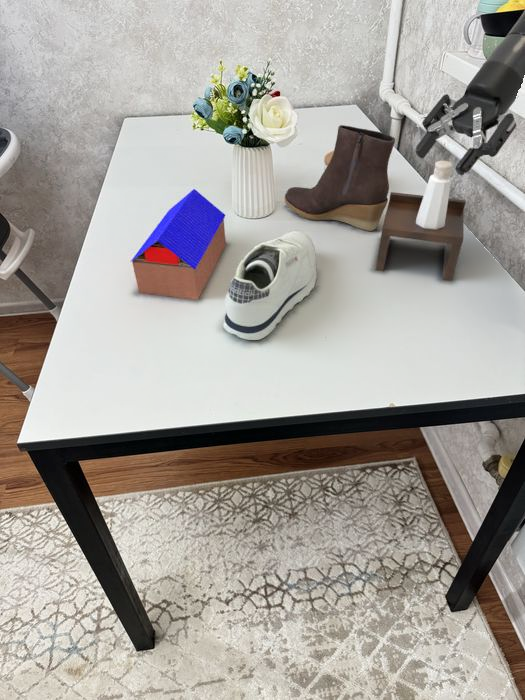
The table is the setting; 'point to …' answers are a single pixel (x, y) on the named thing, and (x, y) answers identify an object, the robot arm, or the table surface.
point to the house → (181, 249)
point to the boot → (349, 181)
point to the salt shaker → (435, 198)
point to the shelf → (404, 226)
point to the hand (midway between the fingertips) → (438, 163)
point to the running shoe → (269, 285)
